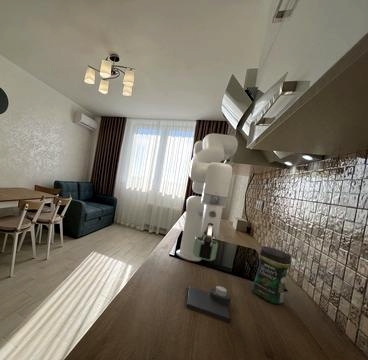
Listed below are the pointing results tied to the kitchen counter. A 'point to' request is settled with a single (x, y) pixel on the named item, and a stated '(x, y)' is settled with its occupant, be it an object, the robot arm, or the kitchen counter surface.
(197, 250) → the green cup
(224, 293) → the power button
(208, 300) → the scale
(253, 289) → the coffee jar
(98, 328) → the kitchen counter surface
